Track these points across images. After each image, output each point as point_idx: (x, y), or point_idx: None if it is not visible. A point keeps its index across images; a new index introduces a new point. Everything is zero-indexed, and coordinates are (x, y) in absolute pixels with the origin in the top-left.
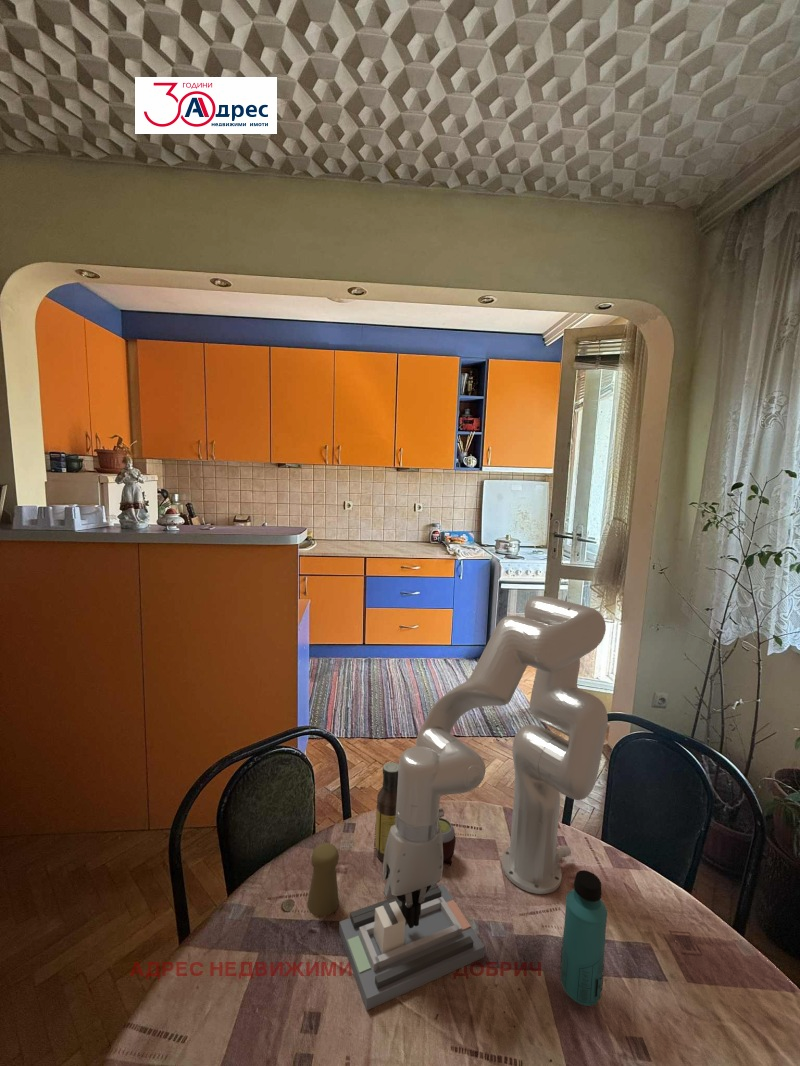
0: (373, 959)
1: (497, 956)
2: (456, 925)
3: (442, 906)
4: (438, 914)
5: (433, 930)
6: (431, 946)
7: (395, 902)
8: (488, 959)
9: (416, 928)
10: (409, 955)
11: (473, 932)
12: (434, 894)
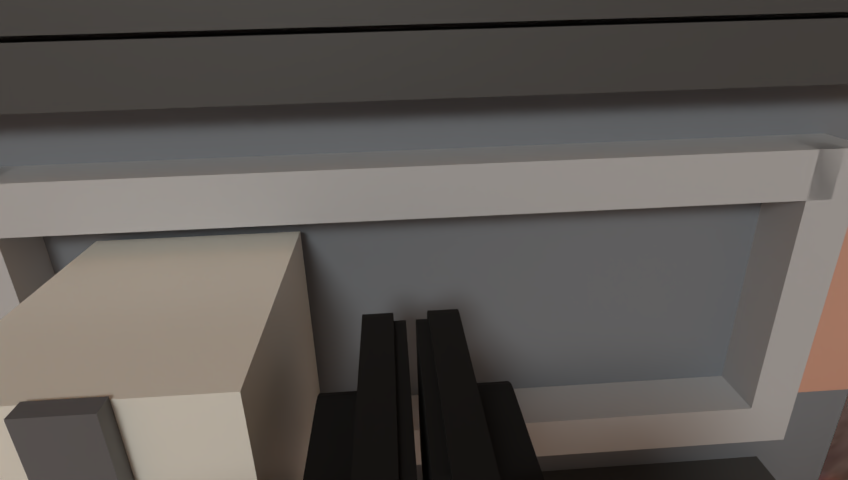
0: None
1: (830, 458)
2: (762, 413)
3: (791, 238)
4: (715, 229)
5: (594, 328)
6: None
7: (227, 410)
8: None
9: (481, 277)
10: None
11: (828, 416)
12: (825, 82)
